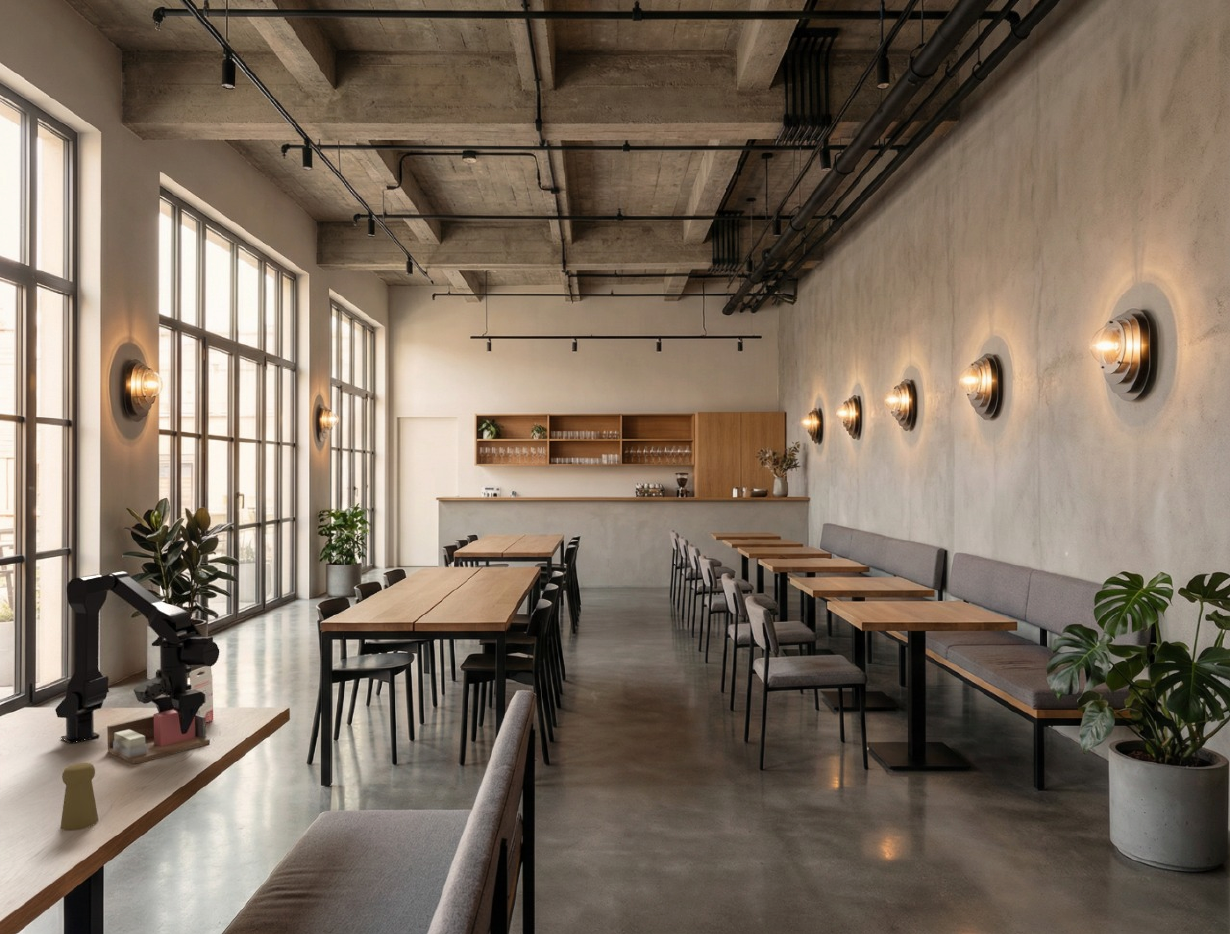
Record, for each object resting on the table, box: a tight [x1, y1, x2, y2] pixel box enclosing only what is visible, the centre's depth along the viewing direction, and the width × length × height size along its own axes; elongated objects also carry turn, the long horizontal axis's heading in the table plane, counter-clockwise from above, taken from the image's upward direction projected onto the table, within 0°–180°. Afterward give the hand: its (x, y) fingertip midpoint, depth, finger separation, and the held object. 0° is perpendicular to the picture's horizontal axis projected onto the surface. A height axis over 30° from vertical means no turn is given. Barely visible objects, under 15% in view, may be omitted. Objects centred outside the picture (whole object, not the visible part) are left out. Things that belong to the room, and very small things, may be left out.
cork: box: [60, 762, 99, 832], centre depth 159 cm, size 6×6×11 cm
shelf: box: [107, 714, 211, 764], centre depth 201 cm, size 14×17×6 cm
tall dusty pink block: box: [153, 710, 195, 746], centre depth 203 cm, size 4×8×7 cm, turn 142°
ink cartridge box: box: [186, 666, 214, 724], centre depth 219 cm, size 9×5×15 cm, turn 168°
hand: (174, 730), depth 203 cm, fingers open, 9 cm apart
